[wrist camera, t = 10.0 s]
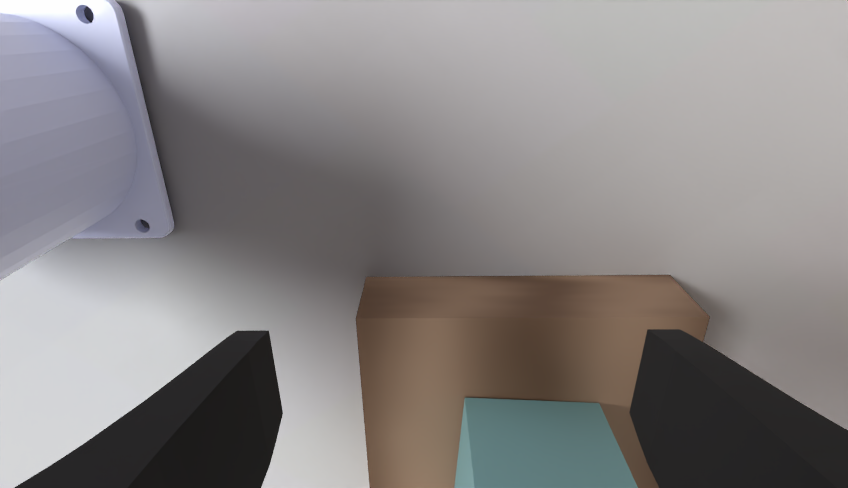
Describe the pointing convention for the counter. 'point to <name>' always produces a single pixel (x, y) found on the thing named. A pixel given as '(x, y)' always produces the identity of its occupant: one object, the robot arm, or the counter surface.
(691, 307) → the square wooden block
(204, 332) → the counter surface
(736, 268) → the counter surface
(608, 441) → the teal cube
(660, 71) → the counter surface
